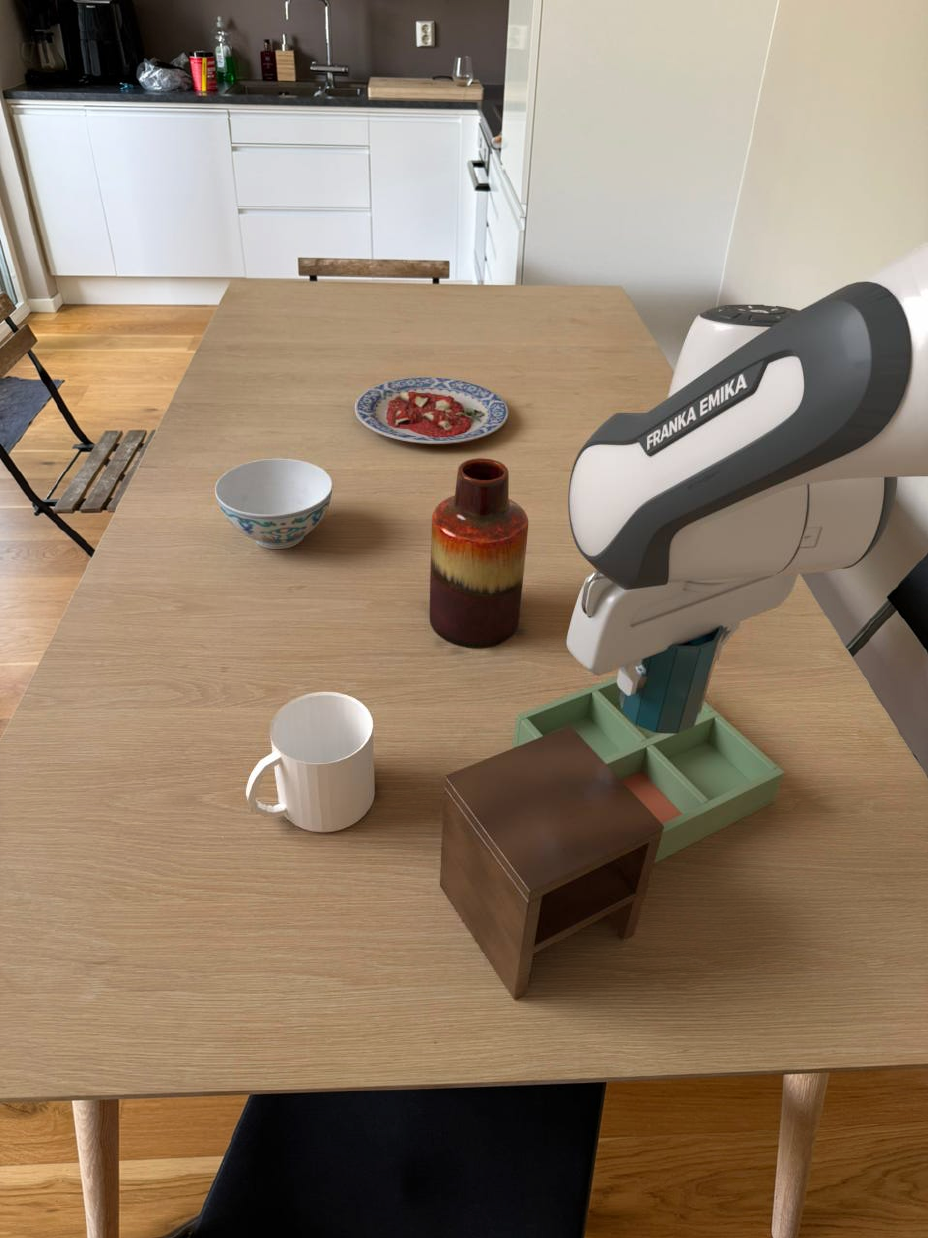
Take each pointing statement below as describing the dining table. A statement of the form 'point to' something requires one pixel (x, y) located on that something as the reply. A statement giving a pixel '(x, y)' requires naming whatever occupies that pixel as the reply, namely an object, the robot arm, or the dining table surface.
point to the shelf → (543, 849)
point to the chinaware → (275, 500)
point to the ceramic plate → (431, 410)
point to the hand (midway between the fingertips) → (668, 673)
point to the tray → (666, 762)
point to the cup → (674, 685)
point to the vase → (477, 558)
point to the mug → (319, 762)
